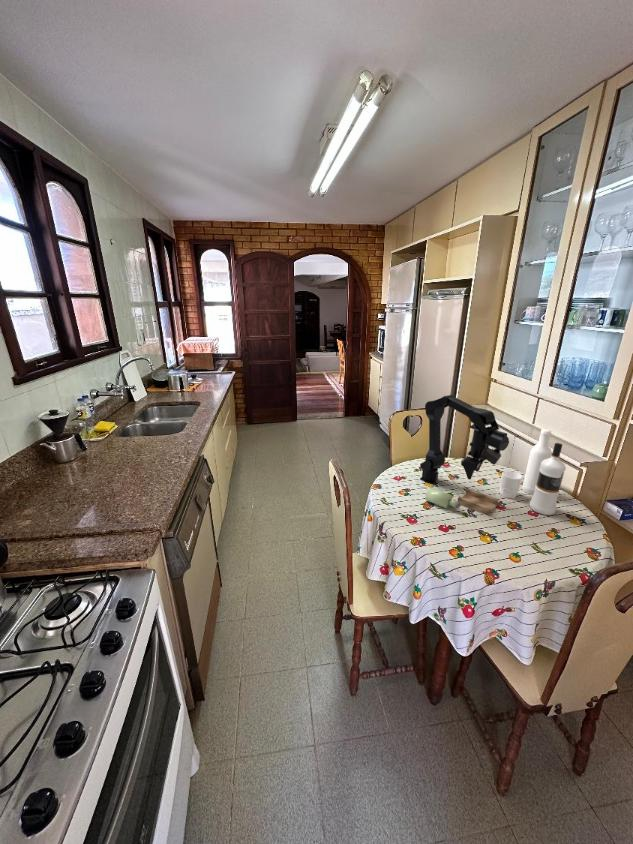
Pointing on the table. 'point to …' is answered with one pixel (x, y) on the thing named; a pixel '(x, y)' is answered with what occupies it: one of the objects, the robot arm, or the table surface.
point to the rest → (478, 502)
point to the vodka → (548, 483)
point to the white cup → (510, 484)
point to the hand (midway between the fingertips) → (473, 475)
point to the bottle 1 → (441, 498)
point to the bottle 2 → (536, 461)
